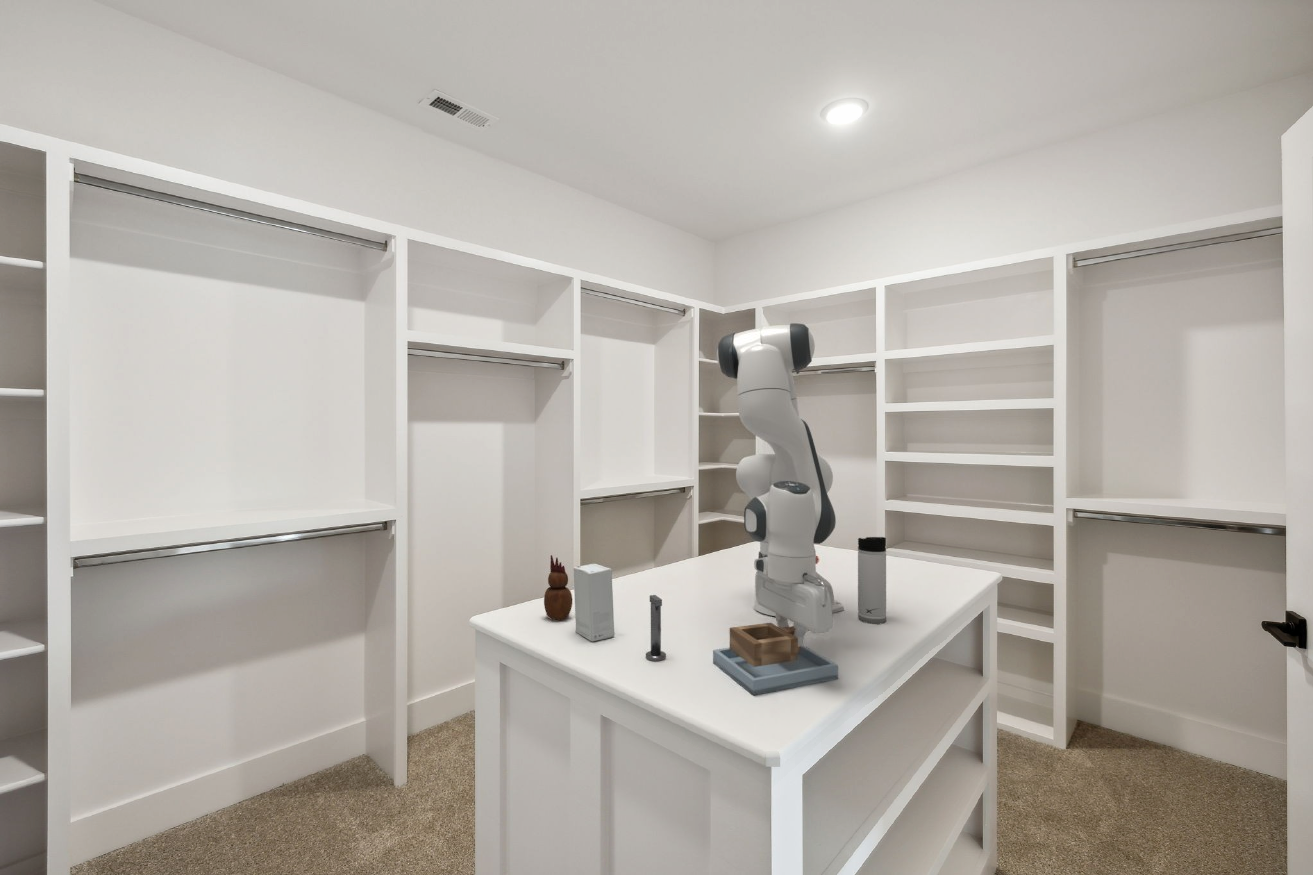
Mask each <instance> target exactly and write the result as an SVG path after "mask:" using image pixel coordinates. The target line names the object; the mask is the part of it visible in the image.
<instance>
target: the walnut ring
mask: <svg viewBox="0 0 1313 875" xmlns="http://www.w3.org/2000/svg"><path fill="white" fill-rule="evenodd" d="M795 630H796V628H794V625H793V626H791V625H790V626H789V627H784V628H779V627H778V625H776V624H774V623H772V622H765V623H757V624H756V623H755V624H749V625H739V626H733V627H729V647H730V650H732V651H733V652H735V653H736V654H737V655H739V656H740V657H741V658H743V659H744V660H745V661H747V662H748V663H749V664H751V665H752V666H753V667H757V666H764V665H770V664H777V663H783V662H789V661H796V660H798V652H801V646H800V647H798V638H797V637H795V636H794V633H795Z"/></svg>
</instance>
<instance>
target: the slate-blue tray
mask: <svg viewBox="0 0 1313 875" xmlns="http://www.w3.org/2000/svg"><path fill="white" fill-rule="evenodd" d="M712 663H713V664H714V665H715V666H716V667H717V668H718V669H720V670H721V671H722V672H723V673H725V674H726V675H727V676H729V677H730V678H731V679H732V680H733V681H735V682H736V683H737V684H738V685H740V686H741V687H742V688H743V689H744V690H745V691H747V692H748V693H749V694H751V695H752V696H757V695H762V694H767V693H772V692H778V691H784V690H788V689H793V688H799V687H803V686H809V685H814V684H818V683H824V682H829V681H835V680H838V679H839V664H837V663H836V662H834V661H832V660H830V659H828V658H827V657H825V656H823V655H822V654H819V652H816V651H814V650H812V649H810V648H809V647H807V646H805V645H804V644H803V646H801V652H798V660H796V661H789V662H783V663H777V664H770V665H764V666H757V667H753V666H752V665H751V664H749V663H748V662H747V661H745V660H744V659H743V658H741V657H740V656H739V655H737V654H736V653H735V652H733V651H732V650H730V646H729V647H725V648H723V647H722V648H719V649H713V650H712Z"/></svg>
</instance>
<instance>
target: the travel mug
mask: <svg viewBox="0 0 1313 875" xmlns="http://www.w3.org/2000/svg"><path fill="white" fill-rule="evenodd" d="M857 541H858V542H857V544H858V546H857V611H858V612H857V618H858V619H857V620H860V622H863V623H866V622H867V624H871V623H872V624H873V625H874V624H875V625H880V623H881V624H884V623H886V622H887V538H886V537H885V536H884V537H883V536H869V537H868V536H867V537H865V538H862V537H859V538H857Z"/></svg>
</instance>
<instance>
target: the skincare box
mask: <svg viewBox="0 0 1313 875" xmlns="http://www.w3.org/2000/svg"><path fill="white" fill-rule="evenodd" d="M612 571H613V569H612V568H610V567H606V566H604V565H601V564H598V563H589V564H584V565H579V566H574V567H573V591H574V611H575V612H574V618H575V621H574V622H575V633H577V634H579V635H580V636H582V637H584V638H585V639H587V640H588V641H590V642H596V641H600V640H607V639H611V638H614V637H615V617H614V613H615V612H614V594H613V592H614V590H613V572H612Z"/></svg>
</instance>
